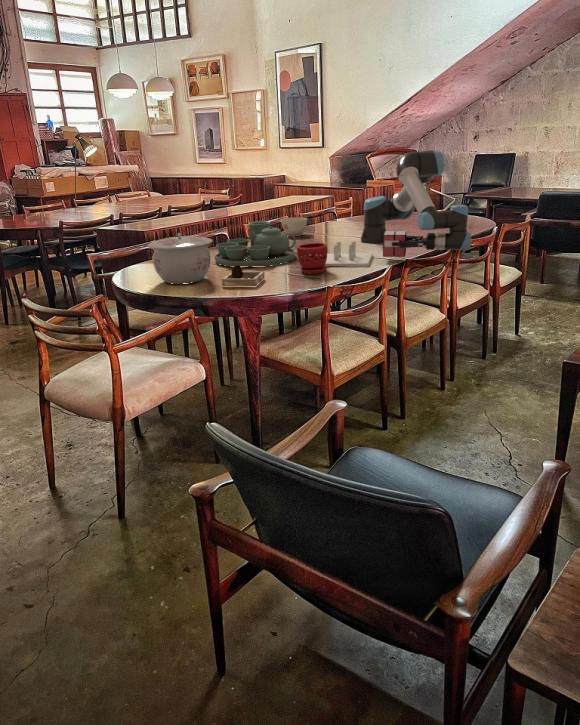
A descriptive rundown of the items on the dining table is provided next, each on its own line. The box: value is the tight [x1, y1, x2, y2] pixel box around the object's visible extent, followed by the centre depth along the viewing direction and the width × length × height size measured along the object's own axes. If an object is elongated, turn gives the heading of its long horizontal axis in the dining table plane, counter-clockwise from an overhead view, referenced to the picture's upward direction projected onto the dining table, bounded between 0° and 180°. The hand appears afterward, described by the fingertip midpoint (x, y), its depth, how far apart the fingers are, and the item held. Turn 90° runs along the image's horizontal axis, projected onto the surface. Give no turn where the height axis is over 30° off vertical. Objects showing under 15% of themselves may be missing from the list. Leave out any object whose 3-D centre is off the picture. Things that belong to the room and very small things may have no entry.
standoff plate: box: [325, 241, 374, 268], centre depth 273 cm, size 24×24×8 cm
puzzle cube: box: [382, 230, 407, 258], centre depth 267 cm, size 10×10×10 cm
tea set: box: [214, 220, 297, 267], centre depth 285 cm, size 40×40×16 cm
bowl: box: [280, 216, 308, 237], centre depth 350 cm, size 16×16×10 cm
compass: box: [231, 265, 253, 279], centre depth 243 cm, size 8×8×7 cm
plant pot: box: [296, 242, 328, 275], centre depth 254 cm, size 13×13×12 cm
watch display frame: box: [221, 271, 266, 287], centre depth 241 cm, size 14×14×4 cm
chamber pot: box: [146, 232, 213, 285], centre depth 248 cm, size 28×28×21 cm
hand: (385, 241), depth 267 cm, fingers closed on puzzle cube, 10 cm apart
